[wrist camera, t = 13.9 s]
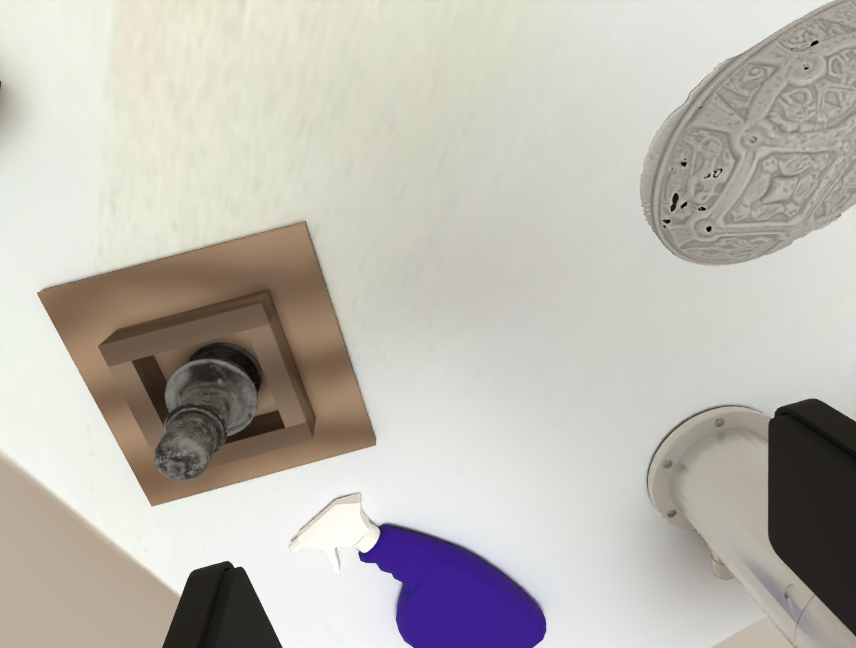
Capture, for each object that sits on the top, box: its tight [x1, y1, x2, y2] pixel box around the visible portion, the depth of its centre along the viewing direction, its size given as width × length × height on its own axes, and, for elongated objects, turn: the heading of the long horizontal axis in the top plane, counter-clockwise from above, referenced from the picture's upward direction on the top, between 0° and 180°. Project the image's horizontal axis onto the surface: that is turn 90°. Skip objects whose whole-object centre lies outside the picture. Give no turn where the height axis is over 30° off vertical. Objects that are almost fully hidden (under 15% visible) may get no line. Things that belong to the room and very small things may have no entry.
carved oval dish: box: [640, 0, 856, 265], centre depth 37 cm, size 16×25×7 cm, turn 126°
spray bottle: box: [289, 493, 546, 648], centre depth 48 cm, size 3×11×24 cm
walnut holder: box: [37, 222, 376, 506], centre depth 38 cm, size 18×18×4 cm
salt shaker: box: [154, 343, 262, 482], centre depth 33 cm, size 6×6×12 cm
